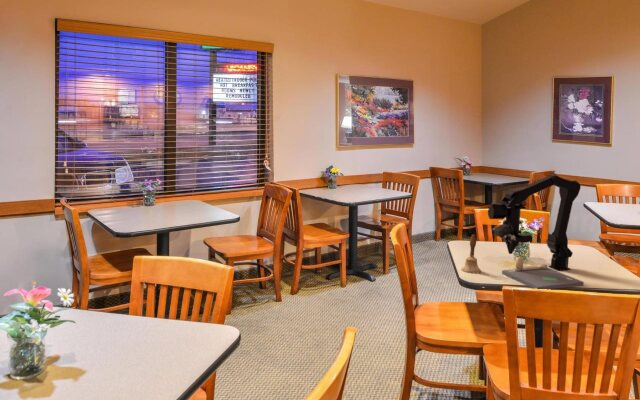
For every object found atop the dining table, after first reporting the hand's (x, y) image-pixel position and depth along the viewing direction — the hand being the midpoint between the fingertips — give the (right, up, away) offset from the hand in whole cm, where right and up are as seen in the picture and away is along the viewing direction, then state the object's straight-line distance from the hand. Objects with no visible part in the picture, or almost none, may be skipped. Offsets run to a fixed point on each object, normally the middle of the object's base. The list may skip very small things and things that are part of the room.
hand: (510, 253), depth 223 cm
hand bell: (-17, -7, 0) cm, 19 cm away
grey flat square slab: (+8, -9, -12) cm, 17 cm away
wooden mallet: (+7, -6, -4) cm, 10 cm away
